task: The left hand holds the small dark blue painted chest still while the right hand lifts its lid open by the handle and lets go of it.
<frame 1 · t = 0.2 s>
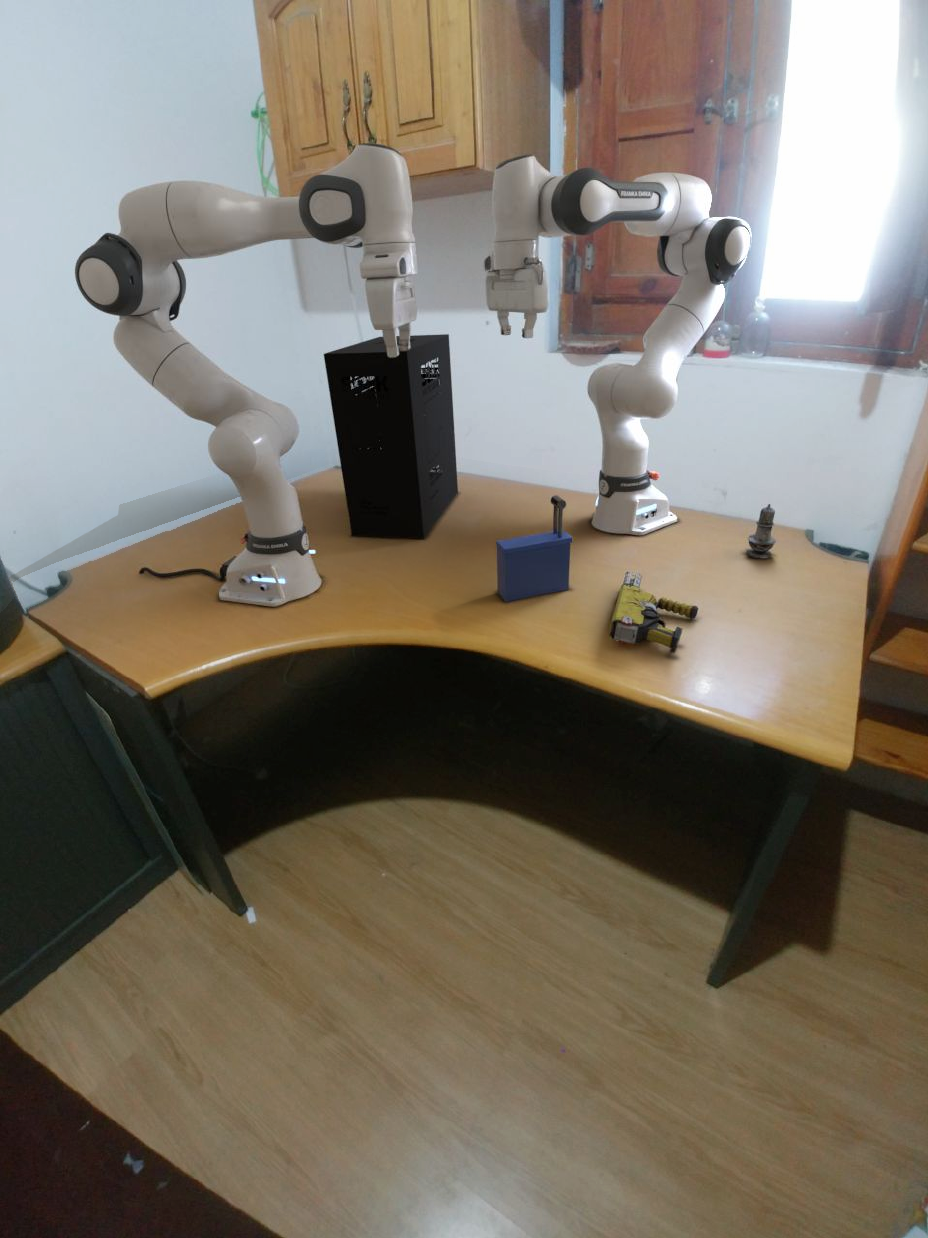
left hand: (399, 353, 109), 48 cm above the table, tool pointing down, fingers open, 8 cm apart
right hand: (516, 336, 125), 48 cm above the table, tool pointing down, fingers open, 8 cm apart
chest: (533, 590, 129), on the table
lid: (534, 523, 122), point 15 cm above the table, hinge at 0.0°
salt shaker: (758, 554, 139), on the table
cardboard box: (409, 512, 175), on the table
toy gun: (655, 620, 116), on the table
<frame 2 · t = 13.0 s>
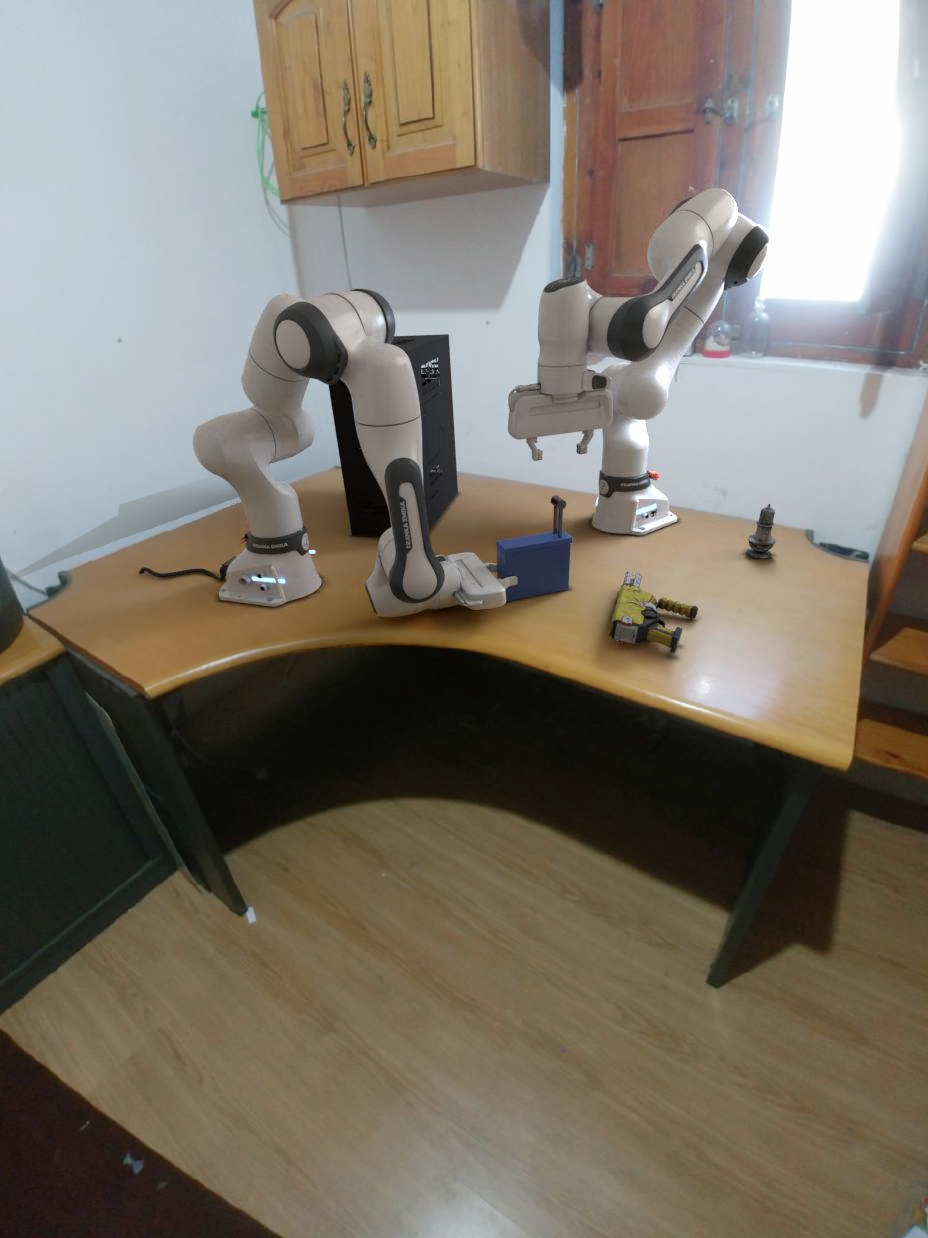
left hand: (510, 573, 125), 5 cm above the table, tool horizontal, fingers closed on chest, 5 cm apart
right hand: (559, 456, 116), 28 cm above the table, tool pointing down, fingers open, 8 cm apart
chest: (533, 590, 129), on the table, touching left hand
everything else where it was.
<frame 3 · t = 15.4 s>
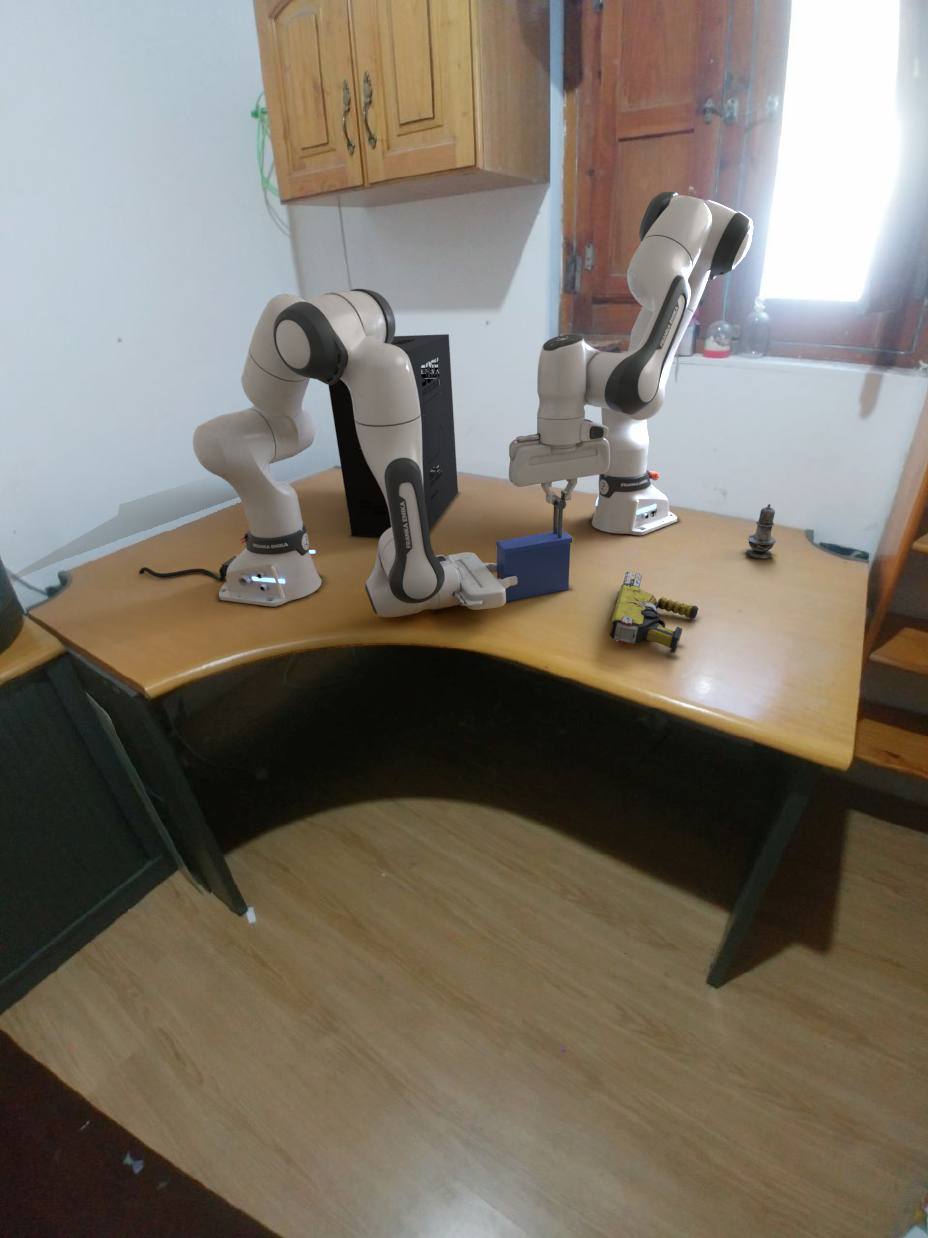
left hand: (510, 573, 125), 5 cm above the table, tool horizontal, fingers closed on chest, 5 cm apart
right hand: (558, 501, 121), 19 cm above the table, tool pointing down, fingers closed on lid, 2 cm apart
chest: (532, 590, 129), on the table, touching left hand
lid: (534, 523, 122), point 15 cm above the table, hinge at -0.2°, touching right hand
everything else where it was.
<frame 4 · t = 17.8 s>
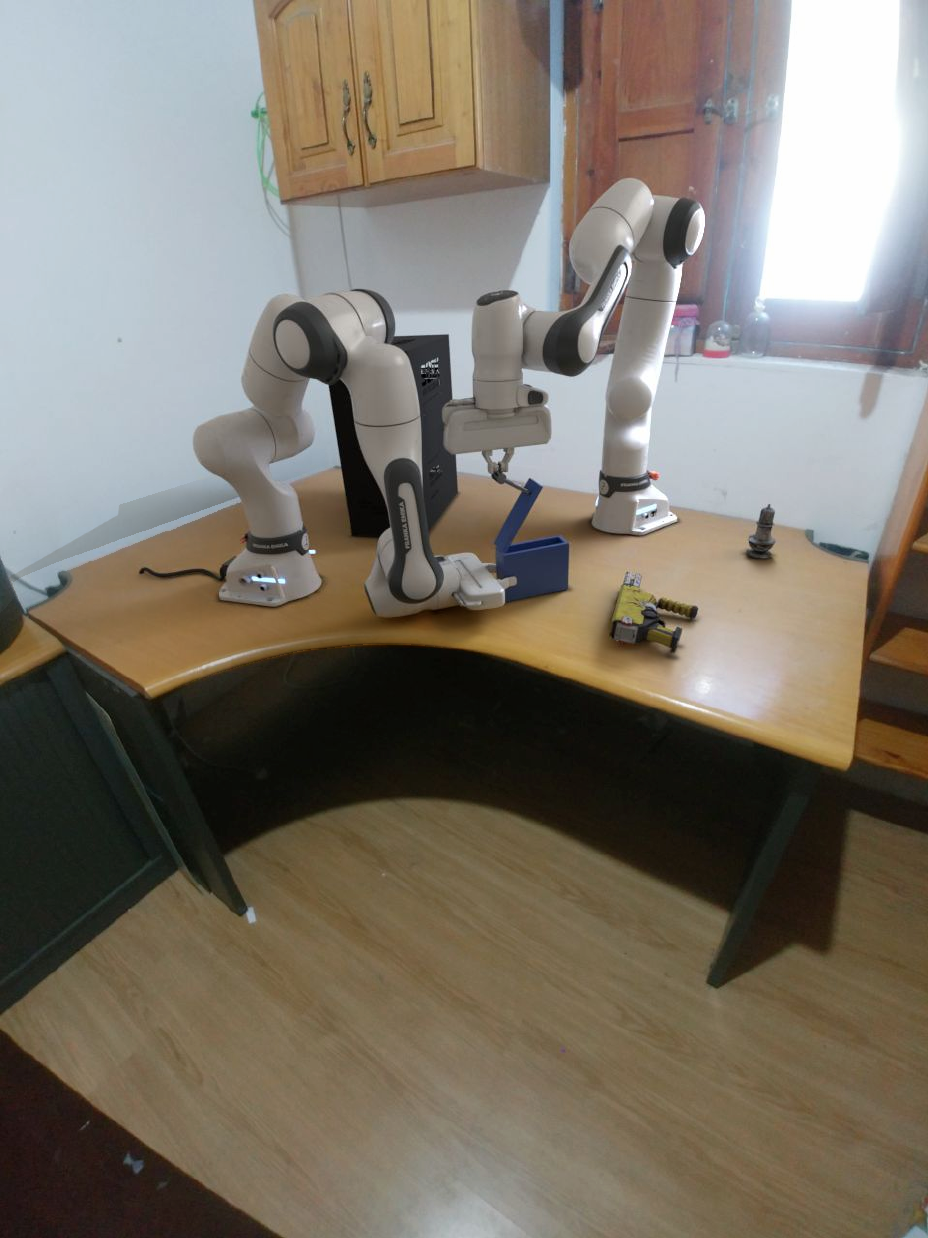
left hand: (509, 573, 125), 5 cm above the table, tool horizontal, fingers closed on chest, 5 cm apart
right hand: (498, 472, 114), 27 cm above the table, tool pointing down, fingers closed, pressing on lid
chest: (532, 590, 129), on the table, touching left hand
lid: (501, 508, 118), point 20 cm above the table, hinge at 57.0°, touching right hand
everything else where it was.
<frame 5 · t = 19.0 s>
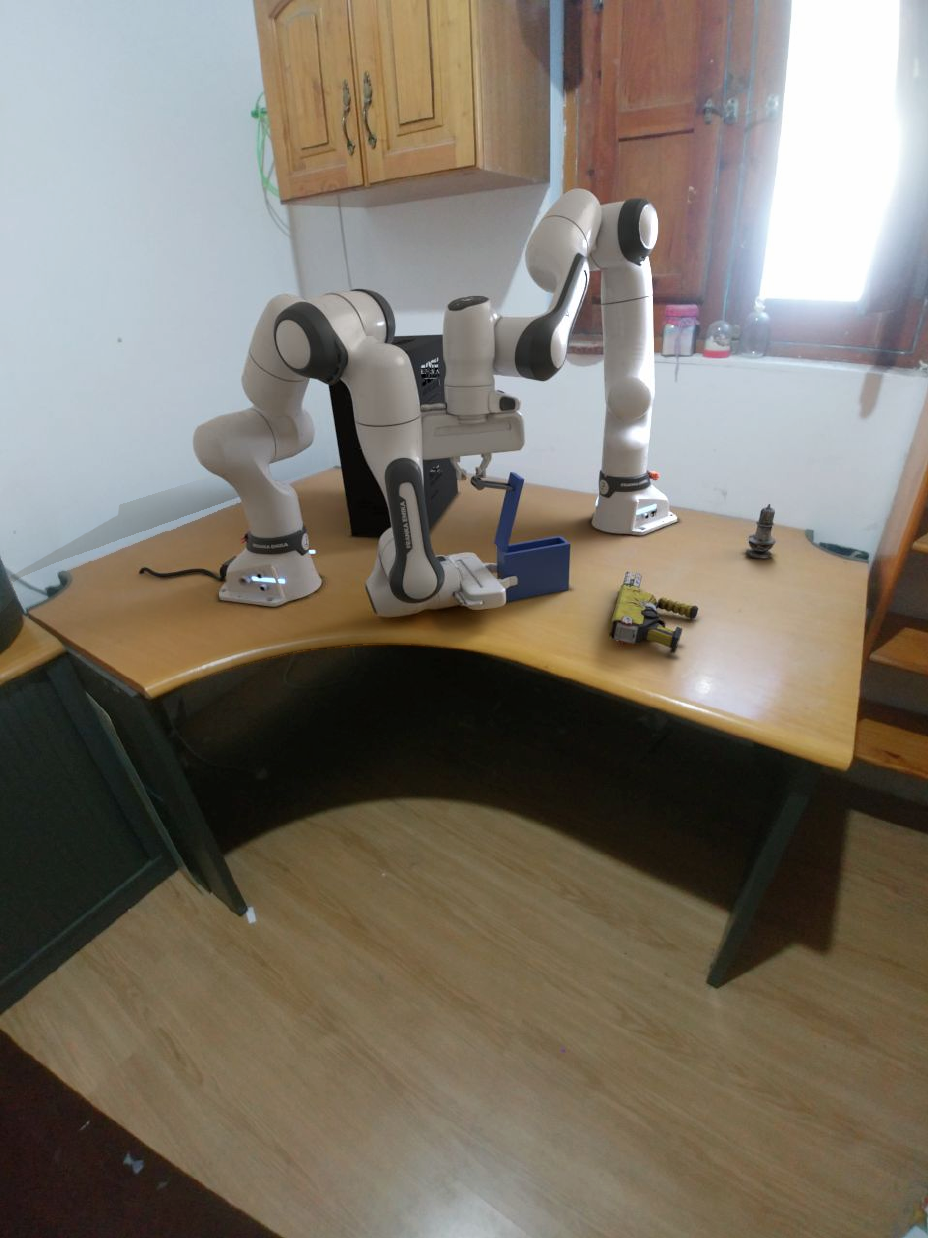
left hand: (510, 573, 125), 5 cm above the table, tool horizontal, fingers closed on chest, 5 cm apart
right hand: (471, 478, 113), 26 cm above the table, tool pointing down, fingers closed
chest: (533, 591, 129), on the table, touching left hand
lid: (489, 510, 117), point 19 cm above the table, hinge at 75.3°, touching right hand
everything else where it was.
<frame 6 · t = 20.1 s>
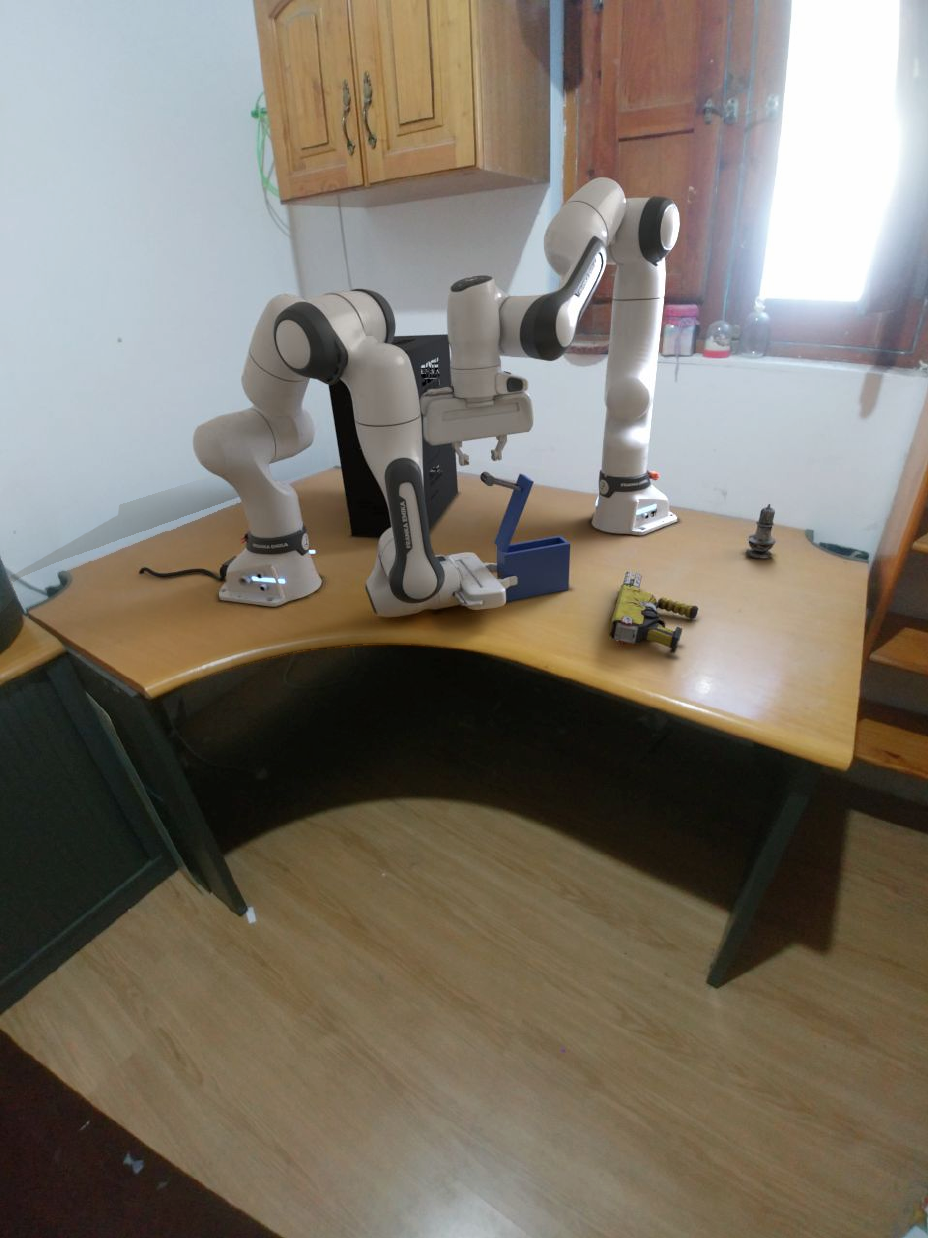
left hand: (510, 573, 125), 5 cm above the table, tool horizontal, fingers closed on chest, 5 cm apart
right hand: (480, 462, 112), 29 cm above the table, tool pointing down, fingers open, 5 cm apart
chest: (533, 590, 129), on the table, touching left hand
lid: (495, 508, 117), point 20 cm above the table, hinge at 67.2°
everything else where it was.
when the left hand's fingers open (5 cm above the table, at t = 22.9 s): chest stays where it is, on the table.
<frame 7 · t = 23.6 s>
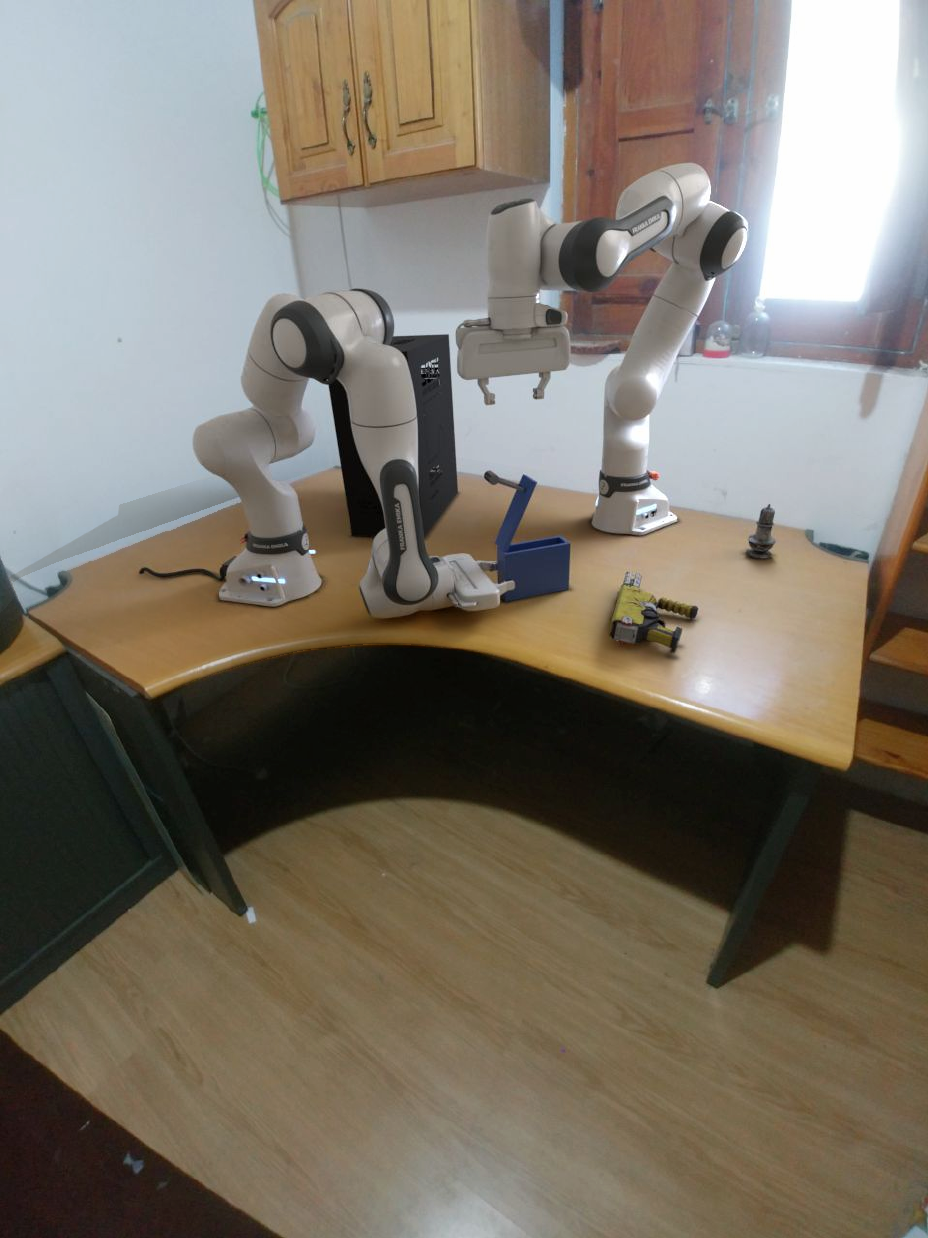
left hand: (505, 574, 125), 5 cm above the table, tool horizontal, fingers open, 8 cm apart
right hand: (514, 401, 109), 39 cm above the table, tool pointing down, fingers open, 8 cm apart
chest: (533, 590, 129), on the table
lid: (497, 508, 117), point 20 cm above the table, hinge at 64.6°
everything else where it was.
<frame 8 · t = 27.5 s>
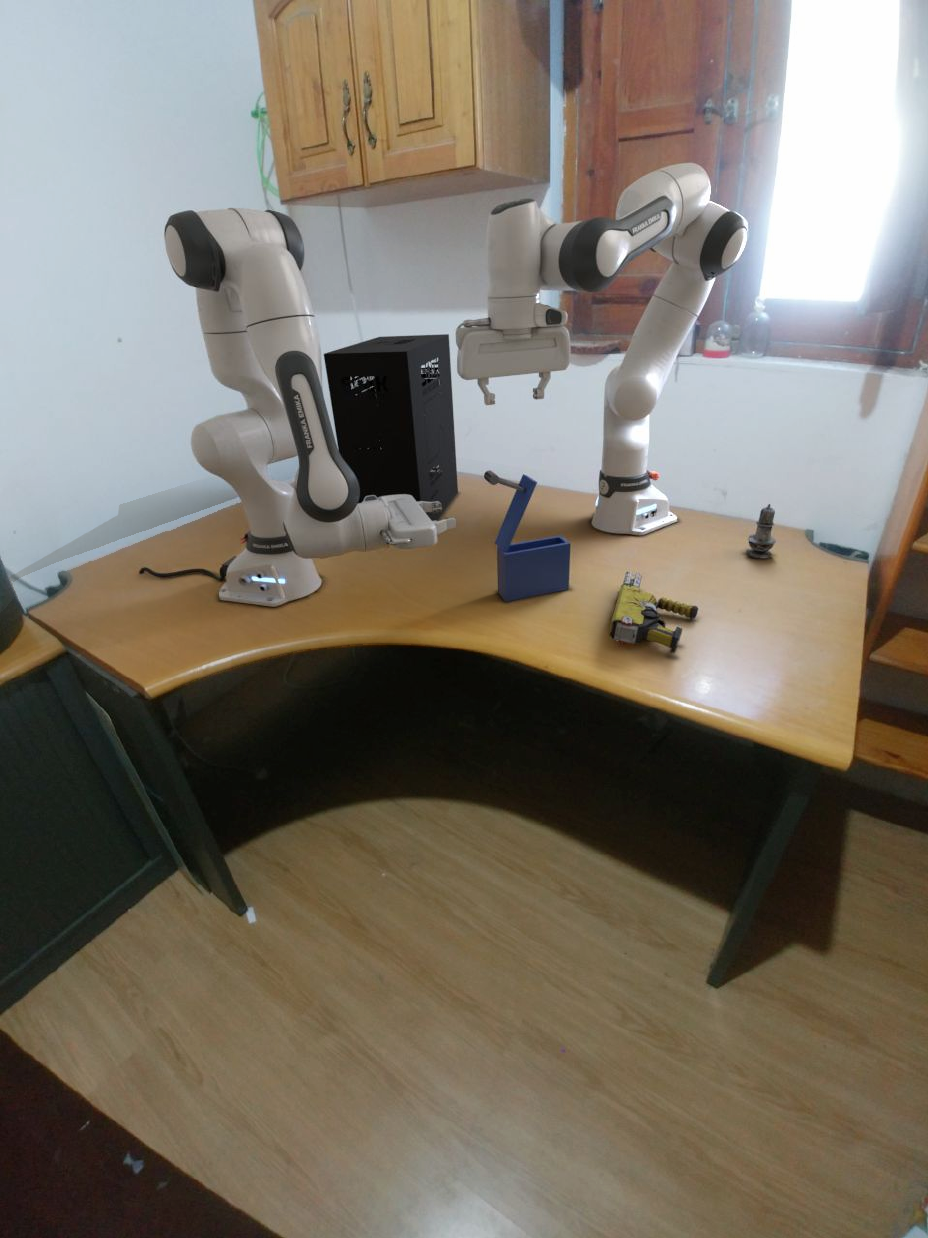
left hand: (447, 513, 115), 20 cm above the table, tool horizontal, fingers open, 8 cm apart
right hand: (514, 401, 109), 39 cm above the table, tool pointing down, fingers open, 8 cm apart
nothing on the table moved.
at the end: lid at +65° (first picture: +0°); the left hand is holding nothing; the right hand is holding nothing; chest tilted 0°; chest never tilted more than 2° during the clip; chest moved 0.1 cm from its start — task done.
